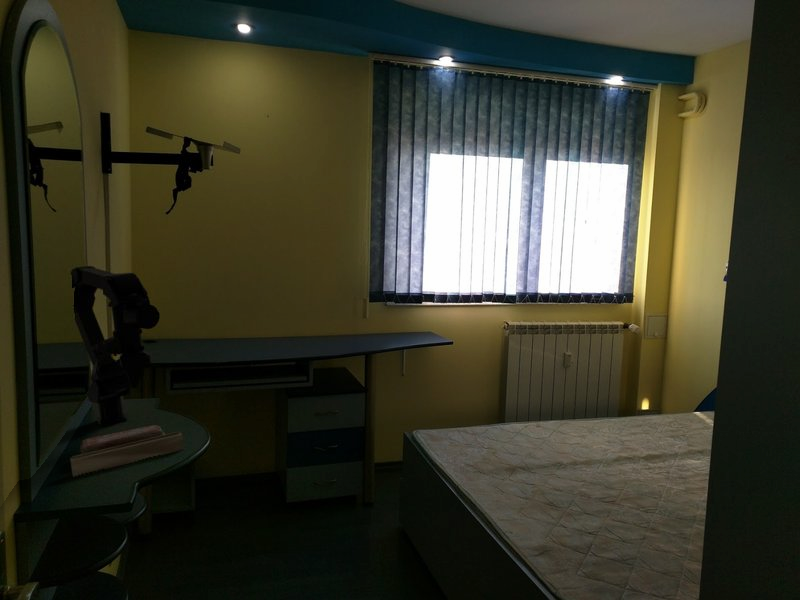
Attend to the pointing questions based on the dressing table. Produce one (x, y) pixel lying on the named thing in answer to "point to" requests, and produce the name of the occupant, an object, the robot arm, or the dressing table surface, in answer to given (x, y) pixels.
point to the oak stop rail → (126, 453)
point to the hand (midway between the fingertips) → (134, 387)
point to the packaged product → (120, 438)
